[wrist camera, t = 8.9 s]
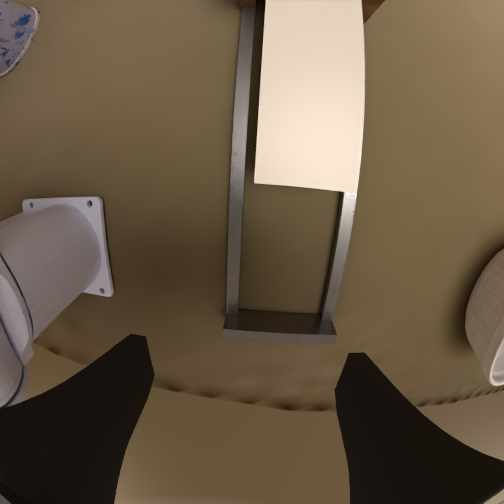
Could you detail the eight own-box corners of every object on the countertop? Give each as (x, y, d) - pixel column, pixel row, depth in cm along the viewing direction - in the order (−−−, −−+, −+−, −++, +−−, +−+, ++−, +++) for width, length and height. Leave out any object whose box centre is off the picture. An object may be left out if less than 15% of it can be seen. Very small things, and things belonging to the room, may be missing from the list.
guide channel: (227, 317, 20) (222, 337, 18) (243, 10, 12) (240, -8, 10) (328, 323, 20) (334, 343, 17) (360, 24, 12) (371, 10, 9)
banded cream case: (257, 173, 16) (252, 183, 11) (268, -17, 11) (268, -59, 6) (331, 180, 16) (357, 193, 11) (337, -8, 11) (356, -46, 6)
